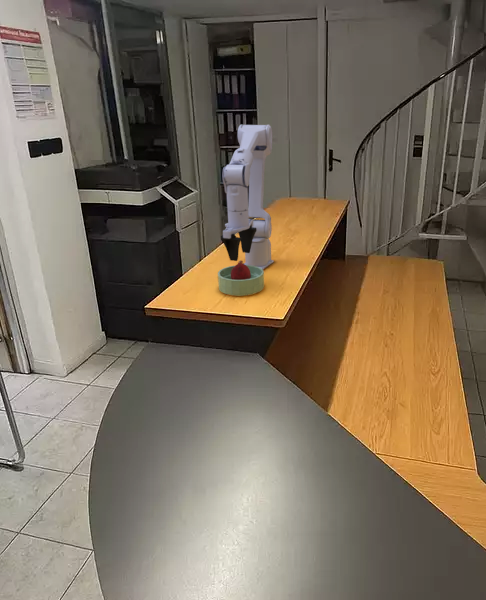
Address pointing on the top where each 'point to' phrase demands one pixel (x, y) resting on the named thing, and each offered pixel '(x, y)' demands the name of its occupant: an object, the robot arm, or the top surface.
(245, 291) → the bowl
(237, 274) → the onion
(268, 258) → the robot arm
